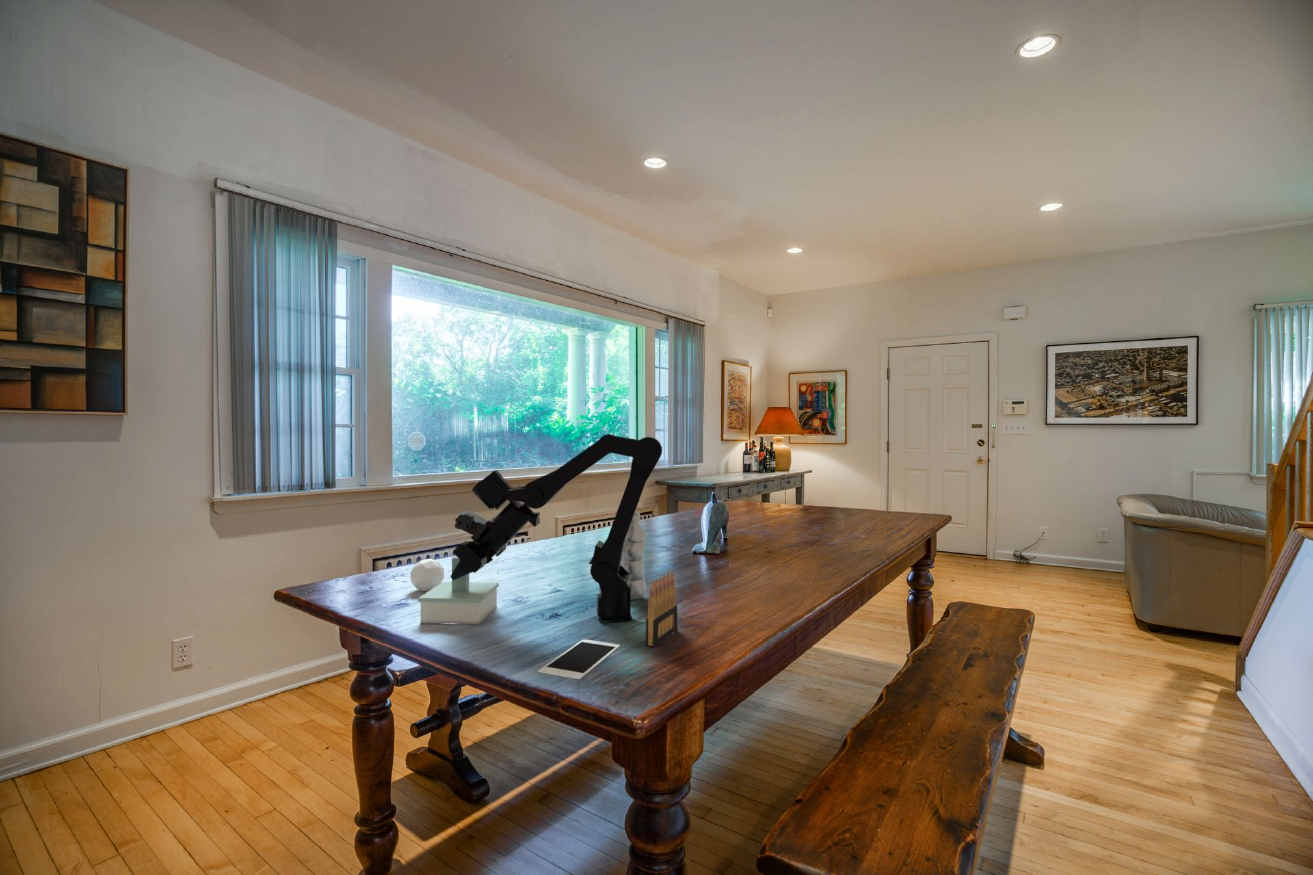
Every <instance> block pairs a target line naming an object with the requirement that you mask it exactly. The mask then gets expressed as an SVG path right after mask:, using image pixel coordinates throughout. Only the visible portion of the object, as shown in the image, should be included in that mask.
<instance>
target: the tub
mask: <svg viewBox="0 0 1313 875" xmlns="http://www.w3.org/2000/svg"><path fill="white" fill-rule="evenodd" d="M497 590H498V587H497V588H496V589H495V590H494V591H493V592H492V593H491V594H489V595H488V596H487V597H486V598H485V599H484V600H483V601H482V602H481V603H463V602H420V624H421V623H425V624H424V625H427V624H426V623H430V624H429V625H434V624H433V623H457V624H456V625H468V624H475V625H474V626H476V625H477V626H479V625H481V623H482V622H484V620H485V619H487V618H488V616H489V615H490V614H492V612H494V610H495V609H496V608H497V607H498V606H497V605H498V604H497V603H498V602H497V601H498V600H497V597H498V596H497V595H498V593H497ZM431 623H432V624H431Z"/></svg>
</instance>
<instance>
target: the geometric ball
mask: <svg viewBox="0 0 1313 875" xmlns="http://www.w3.org/2000/svg"><path fill="white" fill-rule="evenodd" d="M444 570H445V569H444V567H443V566H442V564H440V562H439V561H438V560H435V559H433V558H428V559H427V558H425V559H421V560H420V561H418V562H417V563H416V564H414V566H413V568H412V569H411V570H410V572H409V574H410V582H411V584H412V586H414V588H416V589H417V590H418V591H421V592H423V591H425V592H428V591H430V590H431V589H433V588H434V587H436V586H438V585H439V584H441V583H442V582H443V581H444V578H445V572H444Z"/></svg>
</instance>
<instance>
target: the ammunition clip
mask: <svg viewBox="0 0 1313 875" xmlns="http://www.w3.org/2000/svg"><path fill="white" fill-rule="evenodd" d="M666 573H667V574H663V575H662V576H659V577H658V578H656V579H654V580H655V581H654V580H651V582H650V584H649V589H648V590H649V594H648V595H649V596H648V603H647V617H646V618H645V647H650V648H653V647H655V648H657V647H658V646H659V645H660V644H662V643H663V642H664V641H666V640H667V639H668V638H669V637H668V636H670V635H671V634H672V633H673V632H675V631H676V630H678V604H677V592H676V581H675V580H676V578H675V575H674V574H675V573H674V571H673V570H671V571H670V572H666ZM676 632H677V631H676ZM676 632H675V633H676ZM672 635H673V634H672ZM672 635H671V636H672ZM671 636H670V637H671ZM667 637H668V638H667ZM666 638H667V639H666ZM665 639H666V640H665ZM662 641H663V642H662ZM661 642H662V643H661ZM659 643H660V644H659ZM657 645H658V646H657Z"/></svg>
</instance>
